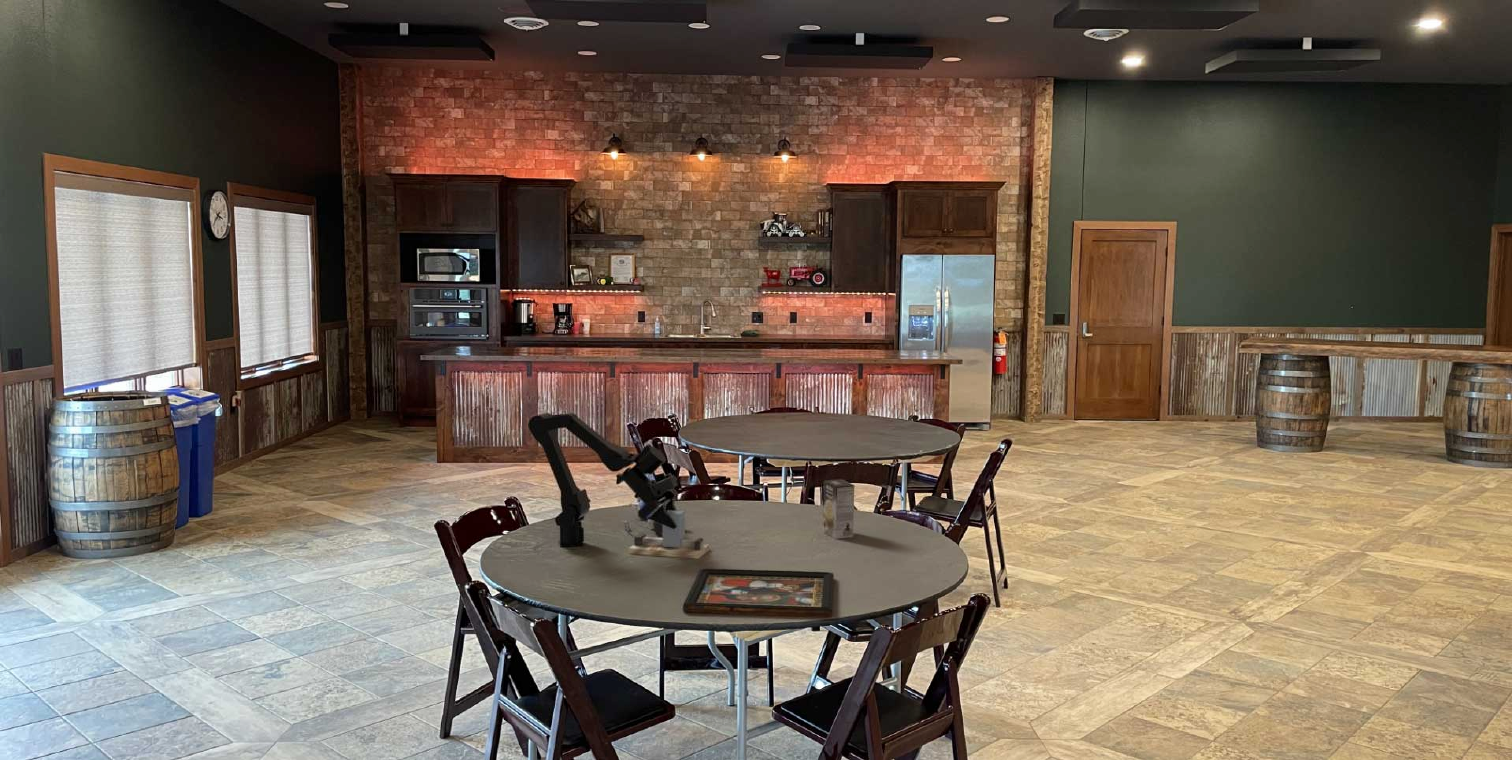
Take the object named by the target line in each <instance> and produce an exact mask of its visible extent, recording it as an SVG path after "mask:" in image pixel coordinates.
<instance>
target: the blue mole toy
mask: <svg viewBox="0 0 1512 760" xmlns="http://www.w3.org/2000/svg"><path fill="white" fill-rule="evenodd" d="M639 500H640V499H639ZM644 505H645V504H644V503H643V502H642V501H641V500H640V501H638V502H633V503H629V504H628V506H629V507H632V508H634V509H636V510H637V511H639V510H640V509H641V508H642V507H643V506H644ZM650 516H651V515H650V514H649V515H648V516H647V518H646V519H648V518H649V517H650Z"/></svg>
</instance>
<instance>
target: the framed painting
mask: <svg viewBox="0 0 1512 760" xmlns="http://www.w3.org/2000/svg"><path fill="white" fill-rule="evenodd" d="M834 581H835V580H834V573H833V572H827V571H804V570H803V571H802V570H775V569H774V570H773V569H772V570H770V569H769V570H768V569H766V570H764V569H763V570H762V569H733V568H732V569H729V568H700V569H699V571H698V573H697V575H696V578H695V579H694V581H693V584H692V585H691V587H690V590H689V592H688V594H687V595H686V598H685V600H684V601H683V604H682V612H685V613H699V612H711V613H710V614H720V613H736V614H735V615H747V614H757V615H759V616H780V617H781V616H785V617H789V616H790V617H806V616H819V617H818V618H831V617H832V616H833V615H832V614H833V608H834V583H835V582H834ZM713 612H714V613H713ZM757 615H756V616H757Z"/></svg>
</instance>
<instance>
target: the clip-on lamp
mask: <svg viewBox="0 0 1512 760" xmlns="http://www.w3.org/2000/svg"><path fill="white" fill-rule="evenodd" d="M630 523H633V524H634V525H637V526H638V527H639V528H644V529H646V528H647V529H648V528H652V529H653V530H654V531H655V535H656V536H657V538H660V537H663V524H660V523H658V522H655V521H653V520H649V519H648V518H647V525H645V526H644V525H642V524H639V523H638V522H636V521H633V520H629V521H626V520H625V522H624V523H623V524H624V529H625V530H626V532H627V533H629V532H630V531H631V530H630V526H629V525H630Z"/></svg>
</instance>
